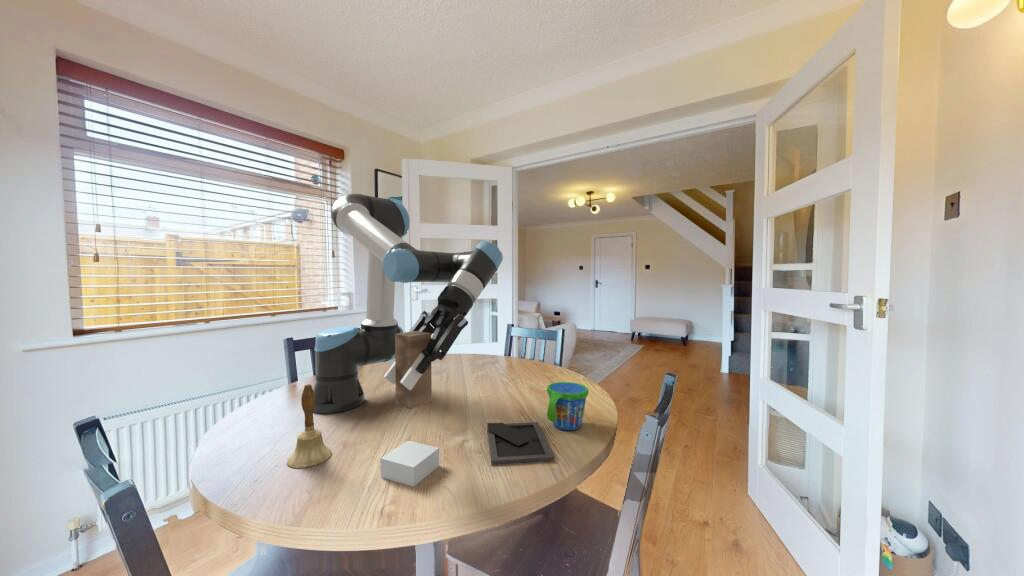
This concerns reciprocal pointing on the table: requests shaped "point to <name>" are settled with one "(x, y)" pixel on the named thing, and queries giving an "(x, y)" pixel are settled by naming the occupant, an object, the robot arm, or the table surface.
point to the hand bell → (309, 437)
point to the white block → (409, 463)
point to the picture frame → (517, 443)
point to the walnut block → (405, 356)
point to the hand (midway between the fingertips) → (397, 383)
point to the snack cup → (566, 404)
